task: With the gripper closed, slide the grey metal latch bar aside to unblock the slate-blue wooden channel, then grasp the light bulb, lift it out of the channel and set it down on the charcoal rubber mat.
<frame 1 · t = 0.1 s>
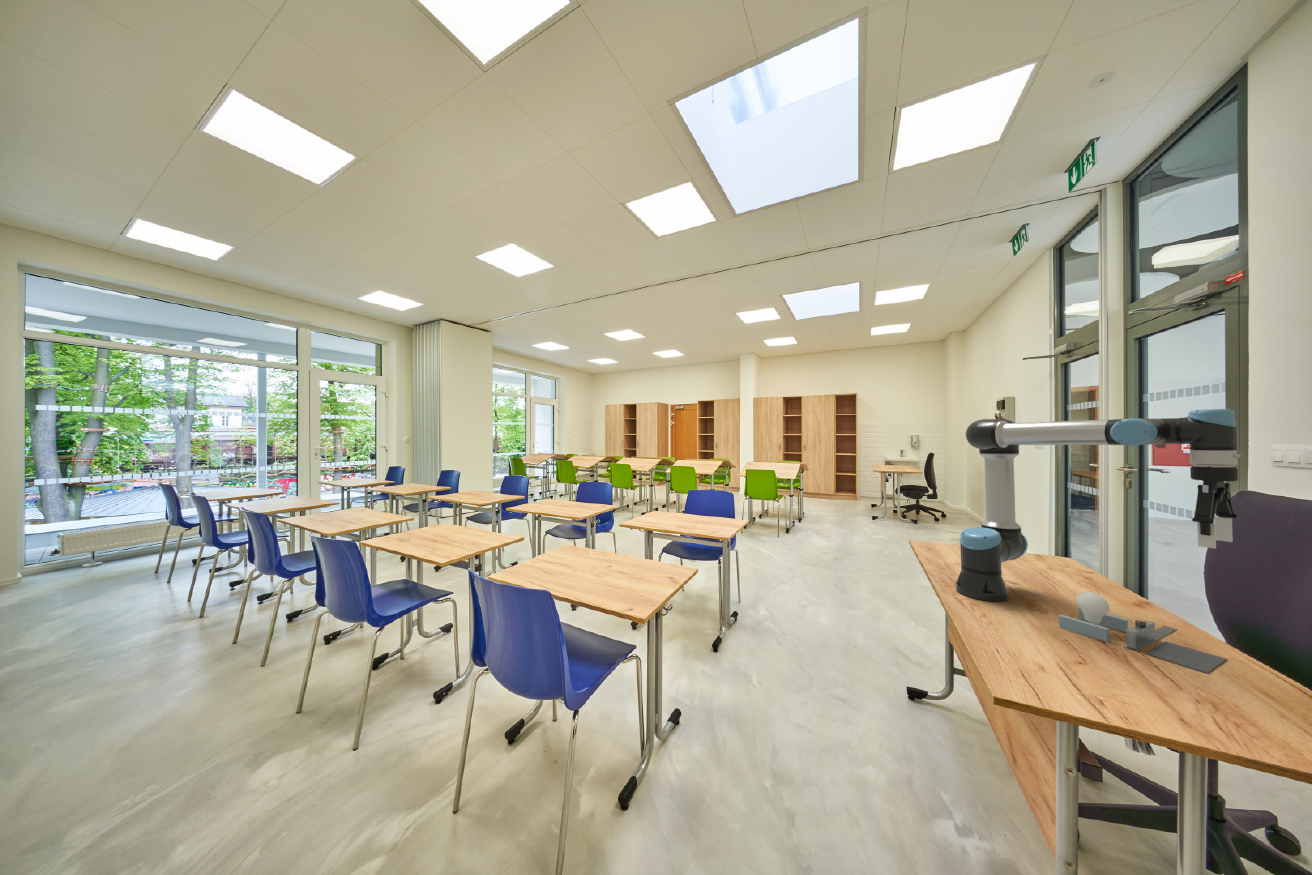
hand: (1215, 544, 108), 28 cm above the table, fingers open, 13 cm apart
track: (1151, 638, 114), on the table
light bulb: (1093, 629, 119), on the table
mat: (1185, 656, 104), on the table
channel: (1093, 629, 119), on the table
latch bar: (1141, 632, 111), point 3 cm above the table, slide at 0.0 cm
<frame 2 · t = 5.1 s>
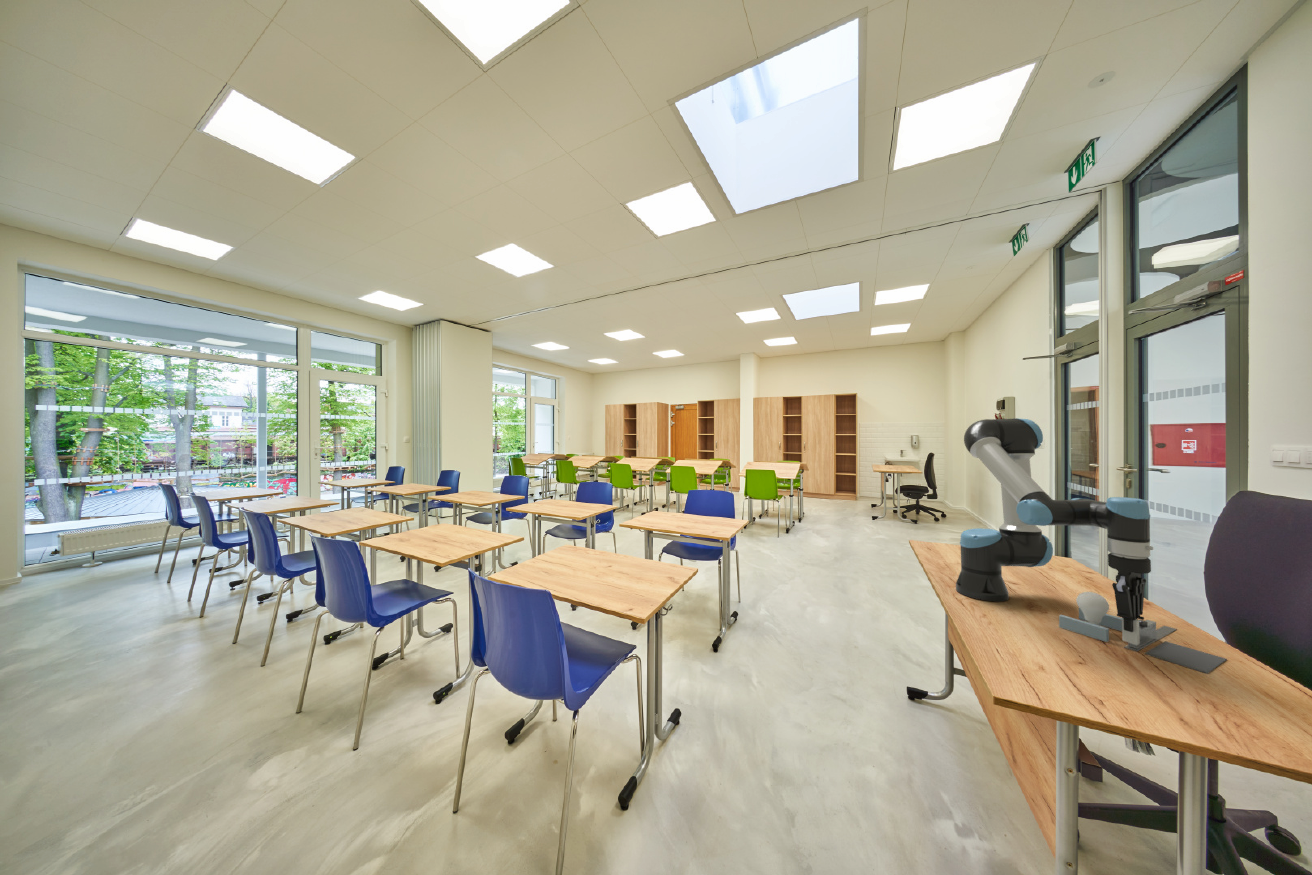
hand: (1130, 642, 108), 2 cm above the table, fingers closed
latch bar: (1142, 631, 111), point 3 cm above the table, slide at 0.9 cm, touching gripper
everything else where it was.
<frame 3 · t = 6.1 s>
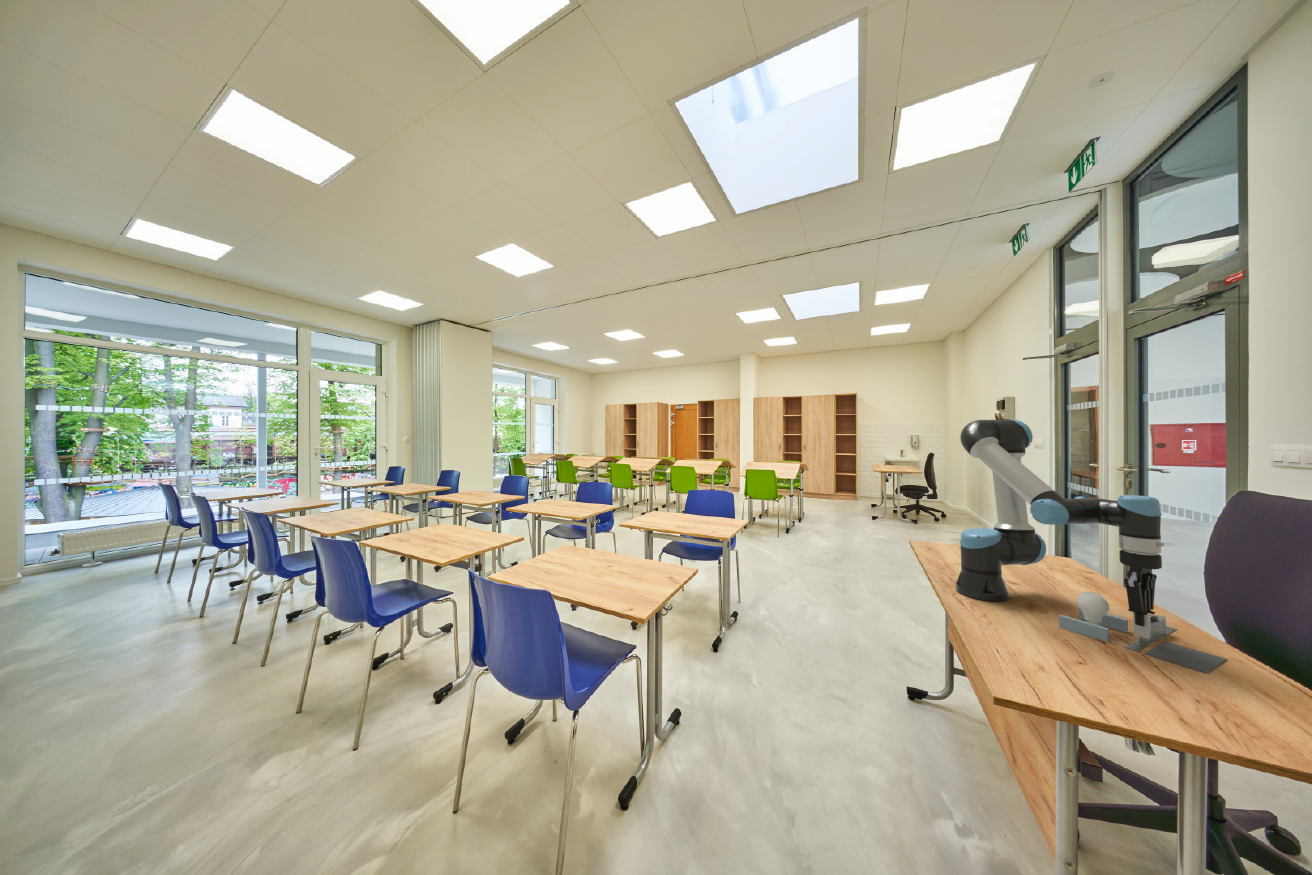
hand: (1142, 636, 111), 2 cm above the table, fingers closed
latch bar: (1152, 626, 114), point 3 cm above the table, slide at 8.1 cm, touching gripper
everything else where it was.
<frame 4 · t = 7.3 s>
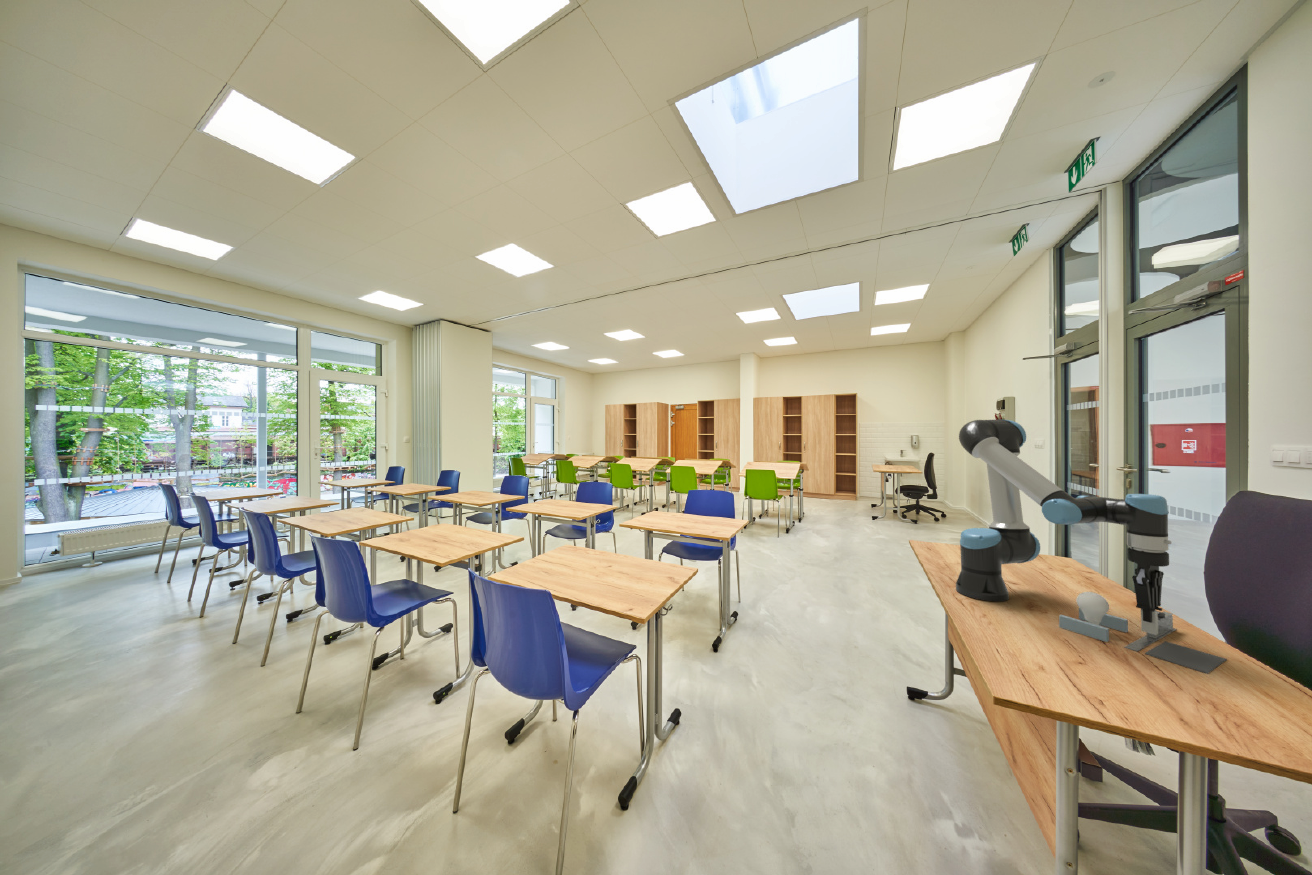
hand: (1149, 632, 113), 2 cm above the table, fingers closed
latch bar: (1159, 622, 116), point 3 cm above the table, slide at 13.1 cm, touching gripper
everything else where it was.
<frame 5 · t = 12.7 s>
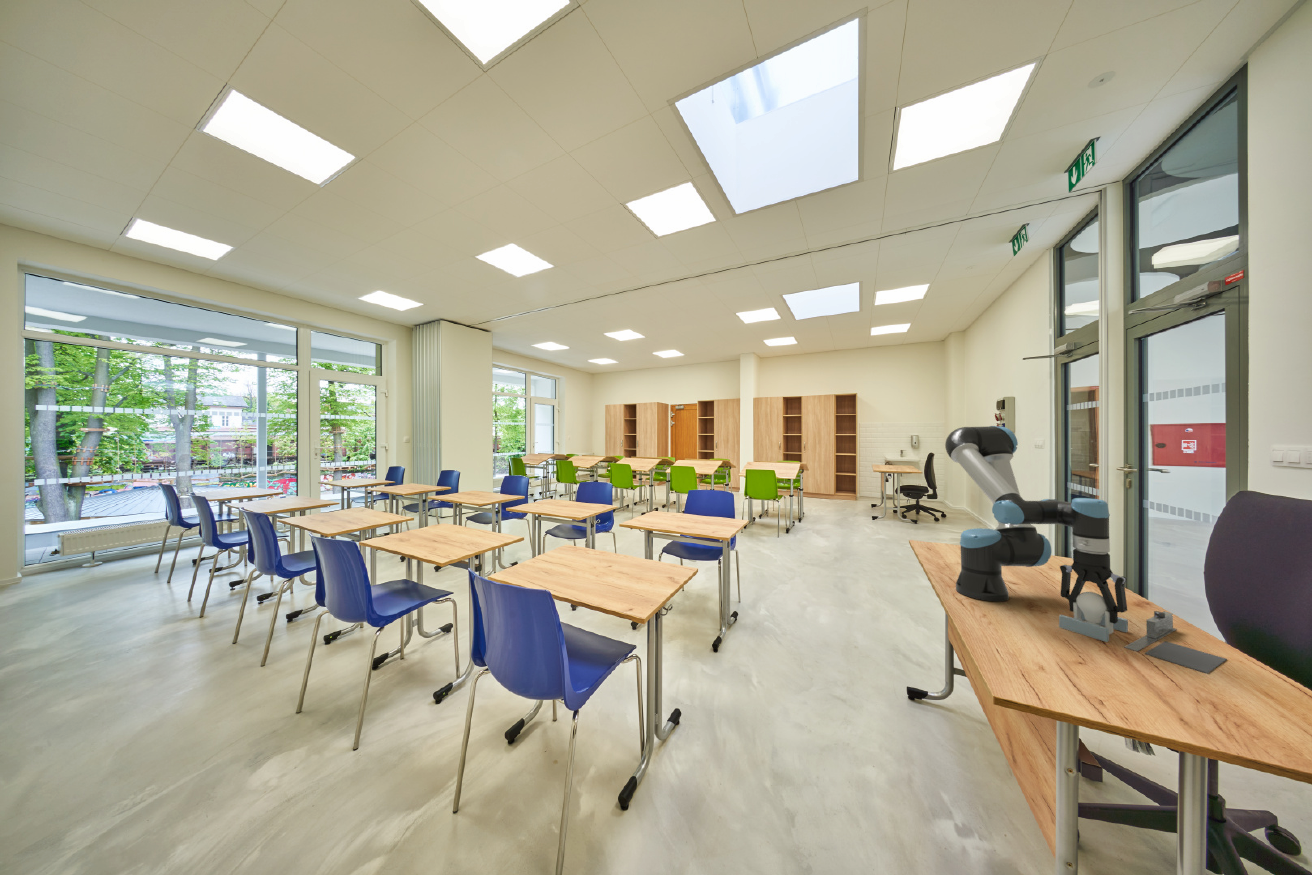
hand: (1093, 627, 119), 0 cm above the table, fingers closed on light bulb, 6 cm apart
light bulb: (1093, 629, 119), on the table, touching gripper
latch bar: (1159, 622, 116), point 3 cm above the table, slide at 13.2 cm
when the fingers open (2 cm above the table, at t = 17.9 s): light bulb drops 2 cm, resting on mat.
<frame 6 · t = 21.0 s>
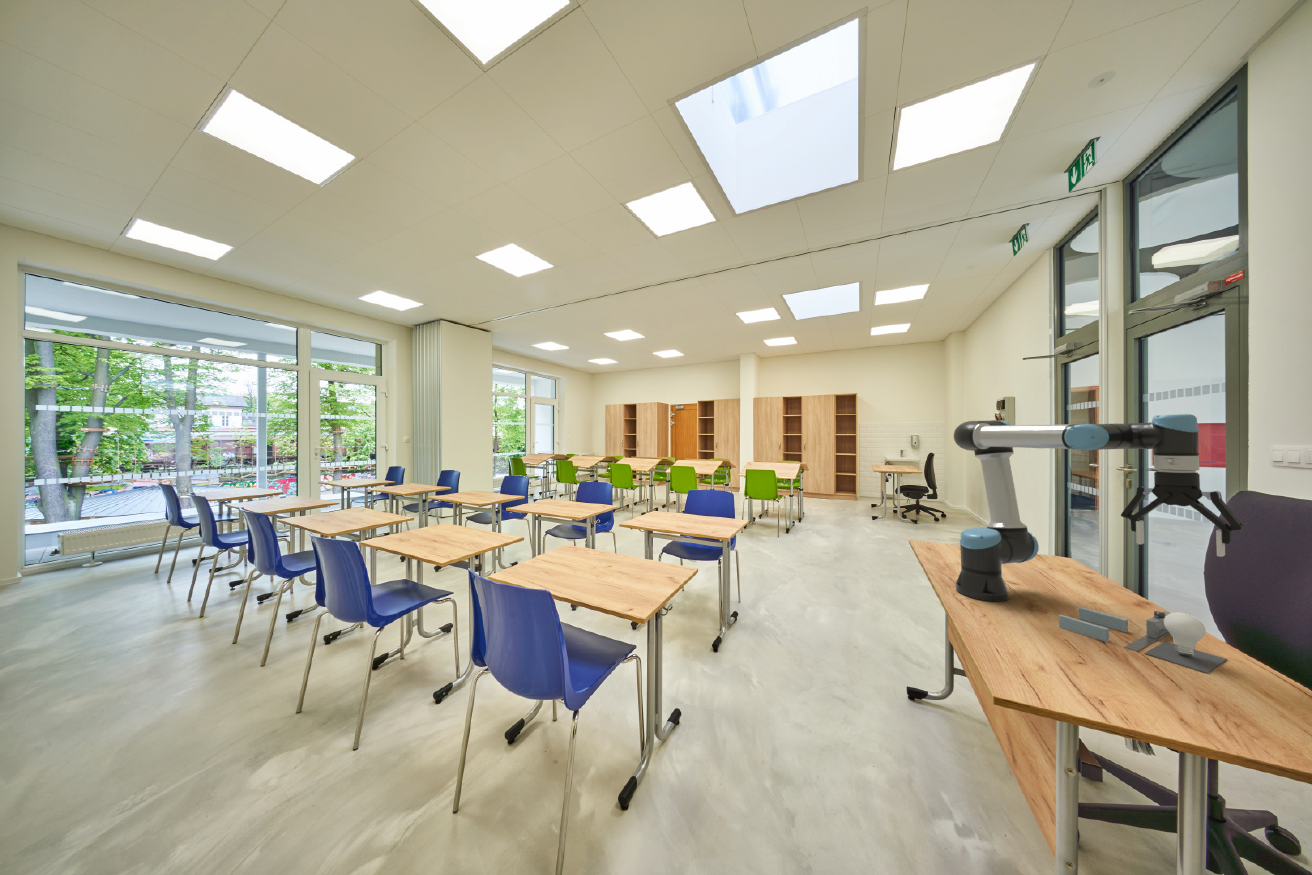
hand: (1178, 549, 108), 27 cm above the table, fingers open, 13 cm apart
light bulb: (1184, 656, 104), resting on mat
everything else where it was.
at the end: light bulb inside the target area (1.2 cm from its centre), resting on mat; latch bar slide at 13.2 cm; the gripper is holding nothing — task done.
